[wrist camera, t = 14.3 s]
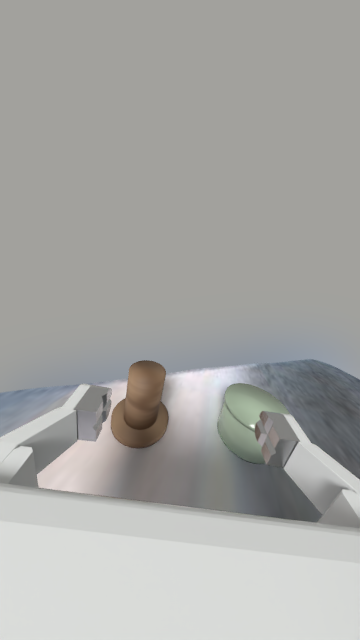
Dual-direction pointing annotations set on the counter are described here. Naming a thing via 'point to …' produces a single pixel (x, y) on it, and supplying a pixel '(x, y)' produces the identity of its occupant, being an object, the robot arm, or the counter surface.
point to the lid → (141, 407)
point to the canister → (245, 419)
